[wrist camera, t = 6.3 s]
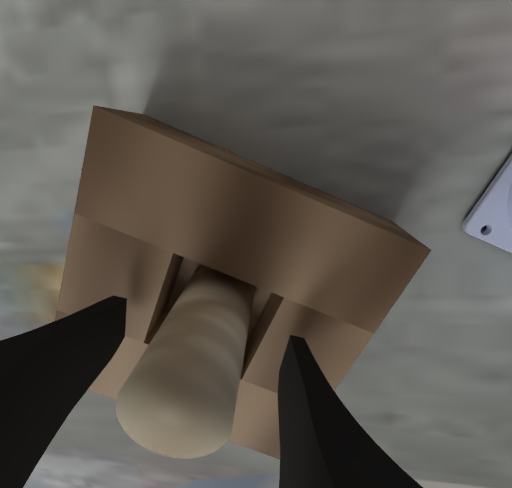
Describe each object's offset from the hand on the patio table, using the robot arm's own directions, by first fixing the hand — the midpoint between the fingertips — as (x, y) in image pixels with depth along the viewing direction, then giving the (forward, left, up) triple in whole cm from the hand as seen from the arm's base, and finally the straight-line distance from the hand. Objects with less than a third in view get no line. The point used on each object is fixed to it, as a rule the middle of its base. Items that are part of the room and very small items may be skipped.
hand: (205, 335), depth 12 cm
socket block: (0, 0, -5) cm, 5 cm away
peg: (0, 0, -4) cm, 4 cm away
